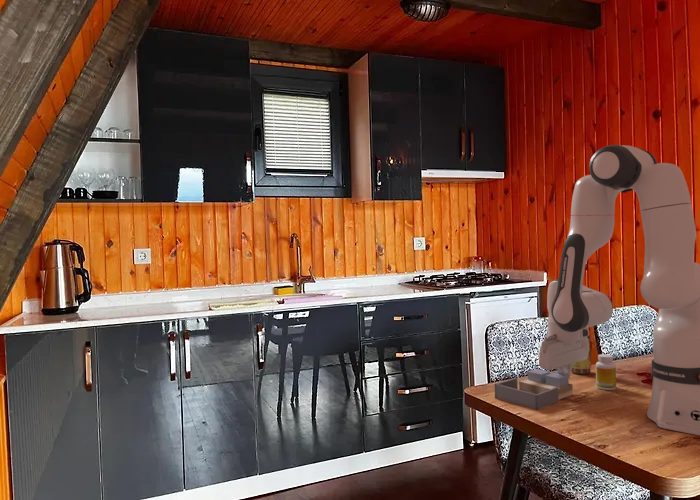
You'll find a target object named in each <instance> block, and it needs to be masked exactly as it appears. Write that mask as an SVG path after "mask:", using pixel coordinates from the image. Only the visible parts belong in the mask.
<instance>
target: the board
mask: <svg viewBox="0 0 700 500" xmlns="http://www.w3.org/2000/svg"><path fill="white" fill-rule="evenodd" d="M573 387H574V386H573V384H572V383H569V384H568V385H565V386H562V387H557V388H558V401H559V400H562V399H564V398H567V397H570V396H572V395H573V394H574V393H573V389H574V388H573ZM553 388H556V386H552V385H548V384H546V382H543V383H539V382H535V381H531V380H528V378H526V379H523V380H520V381H518V390H522V391H526V392H530V393H534V394H539V393H541V392H544V391H547V390H550V389H553Z"/></svg>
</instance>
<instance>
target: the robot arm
mask: <svg viewBox="0 0 700 500" xmlns="http://www.w3.org/2000/svg"><path fill="white" fill-rule="evenodd" d="M588 164H589V165H588V170H589V174H587V175H584V176H582V177H580V178H579V179H577V181H576V182H575V184H574V188H573V193H572V198H571V206H570V223H569V230H568V234H567V236H566V237H567V238H566V239H565V241H564V244H563V246H562V251H561V257H560V266H559V272H558V278H557V279H553V280H551V281H550V282H549V284H548V287H547V294H546V307H547V312H548V316H547V317H548V319H547V336H545V337H544V339H543V340H542V342H541V344H540V347H539V352H538V353H539V356H538V365H539V367H540V369H541V370H546V371H551V370H555V369H556V372H557V373H558V374H563V375H568V377H569V379H570V378H571V373H572V371H571V369H572V363H575V362H579V361H582V360H585V359H587V357H588V354H589V340H588V337H587V336H590V330H589V328H591V327H594V326H598V325H602V324H606V322H609V320H610V319H611V318H612V315H613V313H614V307H613V302H612V300H611V298H610V297H609V296H608V295H607V294H606V293H605V292H602V291H598V290H595V289H592V288H589V287H588V286H586V285H584V277H585V270H586V264H587V262H588V260H589V258H590V257H591V256H592V255H593V254H594V253H595V252H596V251H597V250H599V249H601V248H602V247H604V246H605V245H606V244H608V242H610V240H611V239H612V236H613V233H614V229H615V219H616V218H615V213H616V210H615V209H616V208H615V207H616V205H615V204H616V199H617V197H618V195H619V194H620V193H622V194H624V193H625V194H626V193H629V192H631V191H634V192H635V194H636V195H637V199H638V203H639V210H640V217H641V222H642V223H641V224H642V229H643V234H644V235H643V237H644V262H643V264H644V265H643V277H642V280H641V282H640V289H639V290H640V294H641V297H642V298H643V299H644V300H645V302H646V303H647V304H649V305H650V306H652V308H655V309H658V314H657V318H656V322H655V324H654V327H653V330H652V349H653V351H652V352H653V353H652V354H653V357H652V360H651V363H650V364H651V367H650V369H651V370H650V374H651V375H650V376H651V381H652V388H651V395H650V396H651V397H650V401H649V404H648V405H649V406H648V408H647V412H646V416H647V418H648V419H650V420H651V421H652V422H655V423H656V425H657V426H658V427H659V428H661V429H665V430H671V431H675V432H681V433H686V434H689V435H695V436H700V263H697V262H695V245H696V244H695V243H696V239H697V236H698V235H697V229H696V224H695V223H696V222H695V217H694V211H693V205H692V199H691V194H690V190H689V186H688V184H687V181H686V179H685V176H684V172H683V171H682V170H681V169H682V168H680V167H679V166H678V165H676V164H673V163H669V162H659V163H658V161H657V159H656V157H655V156H654V155H653V154H652V153H651V152H650V151H648V150H646V149H643V148H638V147H635V146H632V145H626V144H625V145H624V144H623V145H621V144H610V145H606V146H604V147H601V148H599V149H597V151H596V152H595V153H594V154H593V155H592V156H591V158H590V161H589V163H588Z"/></svg>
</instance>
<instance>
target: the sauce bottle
mask: <svg viewBox="0 0 700 500" xmlns="http://www.w3.org/2000/svg"><path fill="white" fill-rule="evenodd" d="M587 337H588V340H589V354H588V357H587V359H585V360H582V361H579V362H575V363H572V369H571V373H573V374H575V375H588V374H590V373H591V368H592V361H591V343H590V342H591V341H590V340H591V337H590V335H589V336H587Z"/></svg>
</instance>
